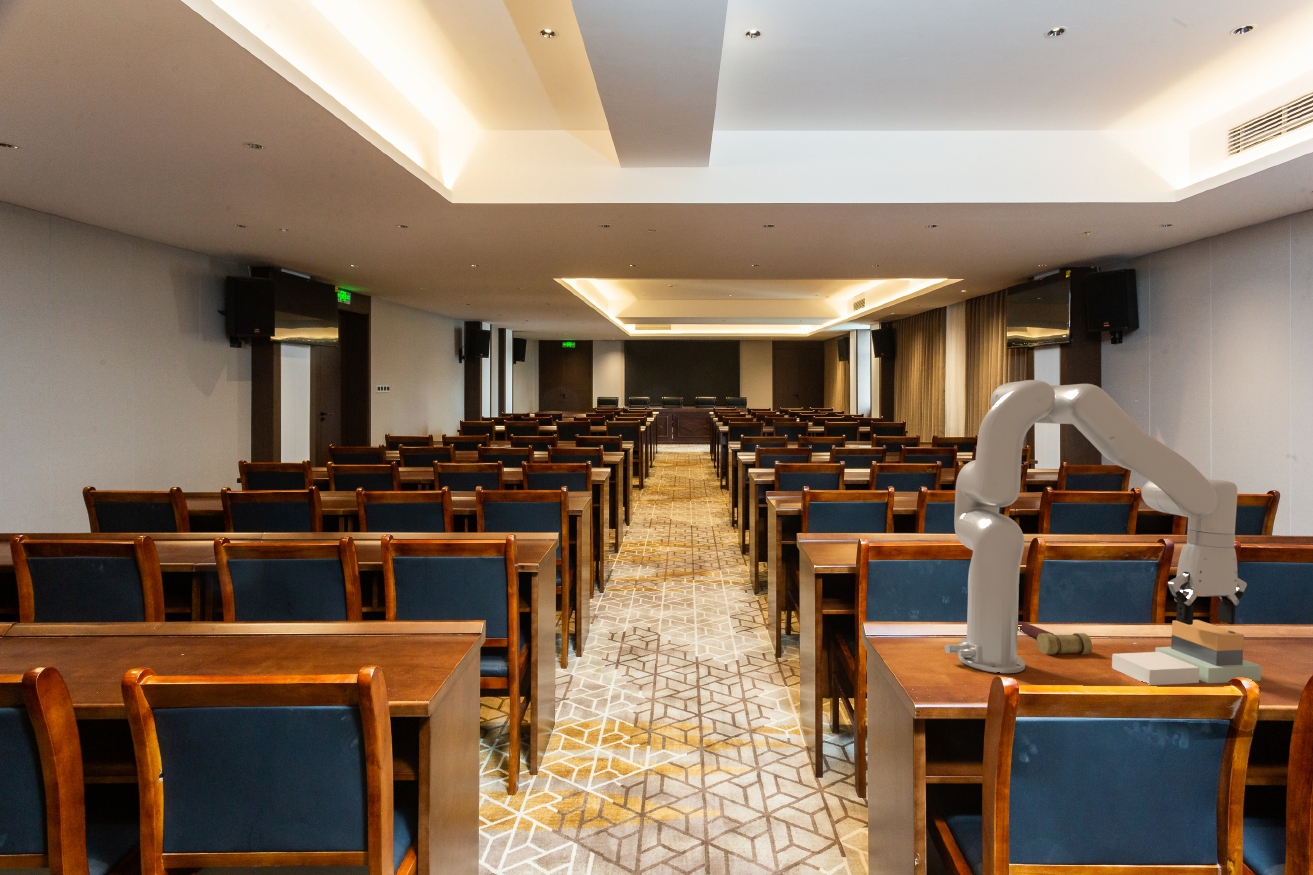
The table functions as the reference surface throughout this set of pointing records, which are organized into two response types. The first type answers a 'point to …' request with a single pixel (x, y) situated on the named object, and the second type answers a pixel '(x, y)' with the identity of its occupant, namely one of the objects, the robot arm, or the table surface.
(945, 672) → the table surface
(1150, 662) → the stand
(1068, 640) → the gavel
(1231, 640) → the housing cover
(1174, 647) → the housing base
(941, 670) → the table surface
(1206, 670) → the stand
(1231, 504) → the robot arm
